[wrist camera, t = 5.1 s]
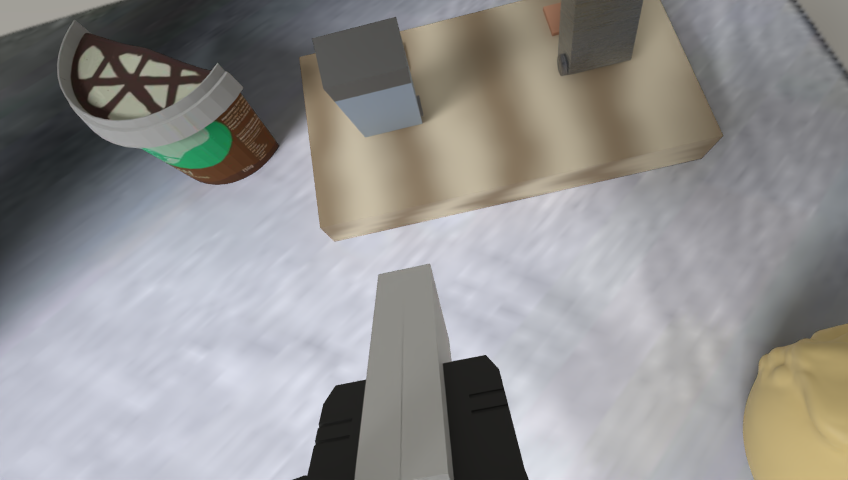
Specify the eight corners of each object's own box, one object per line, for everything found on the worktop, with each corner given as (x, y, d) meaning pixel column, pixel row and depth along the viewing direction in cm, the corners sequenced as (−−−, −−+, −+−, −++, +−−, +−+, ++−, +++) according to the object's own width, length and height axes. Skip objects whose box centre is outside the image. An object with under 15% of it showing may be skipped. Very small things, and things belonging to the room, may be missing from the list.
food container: (131, 171, 37) (9, 97, 27) (171, 108, 38) (67, 17, 29) (257, 220, 34) (170, 157, 25) (295, 150, 35) (225, 65, 26)
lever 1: (364, 140, 32) (319, 89, 21) (356, 106, 32) (308, 39, 21) (426, 125, 31) (411, 66, 21) (418, 91, 32) (400, 15, 21)
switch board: (334, 241, 33) (318, 226, 30) (313, 82, 37) (297, 54, 34) (701, 158, 31) (725, 133, 28) (632, 2, 36) (647, -35, 32)
